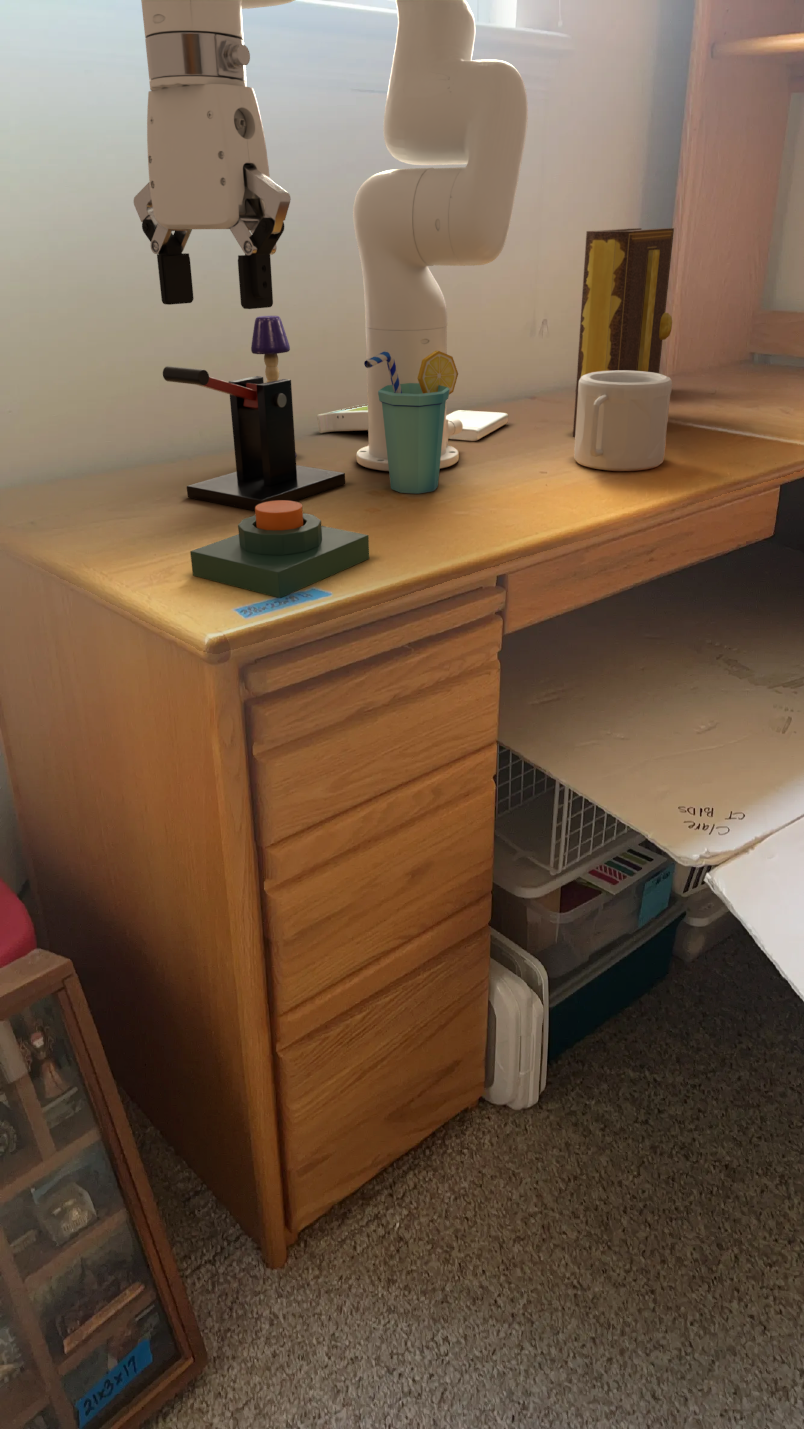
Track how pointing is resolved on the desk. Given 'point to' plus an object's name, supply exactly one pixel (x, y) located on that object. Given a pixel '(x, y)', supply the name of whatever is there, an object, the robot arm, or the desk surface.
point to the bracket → (264, 454)
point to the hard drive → (477, 423)
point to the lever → (212, 383)
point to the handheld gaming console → (344, 420)
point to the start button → (279, 515)
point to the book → (624, 301)
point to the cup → (415, 421)
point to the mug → (622, 420)
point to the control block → (279, 556)
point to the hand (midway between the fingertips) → (216, 305)
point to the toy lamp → (269, 343)
